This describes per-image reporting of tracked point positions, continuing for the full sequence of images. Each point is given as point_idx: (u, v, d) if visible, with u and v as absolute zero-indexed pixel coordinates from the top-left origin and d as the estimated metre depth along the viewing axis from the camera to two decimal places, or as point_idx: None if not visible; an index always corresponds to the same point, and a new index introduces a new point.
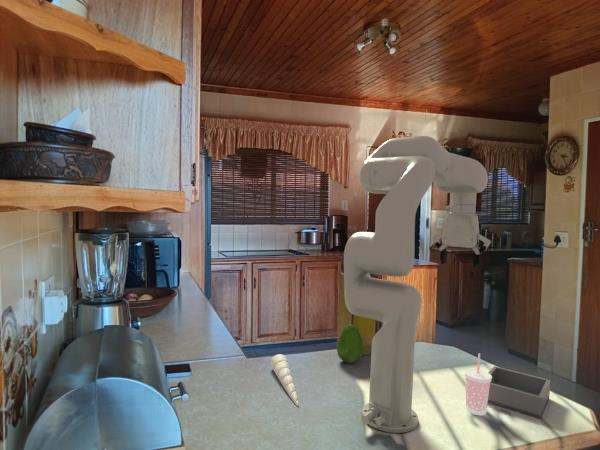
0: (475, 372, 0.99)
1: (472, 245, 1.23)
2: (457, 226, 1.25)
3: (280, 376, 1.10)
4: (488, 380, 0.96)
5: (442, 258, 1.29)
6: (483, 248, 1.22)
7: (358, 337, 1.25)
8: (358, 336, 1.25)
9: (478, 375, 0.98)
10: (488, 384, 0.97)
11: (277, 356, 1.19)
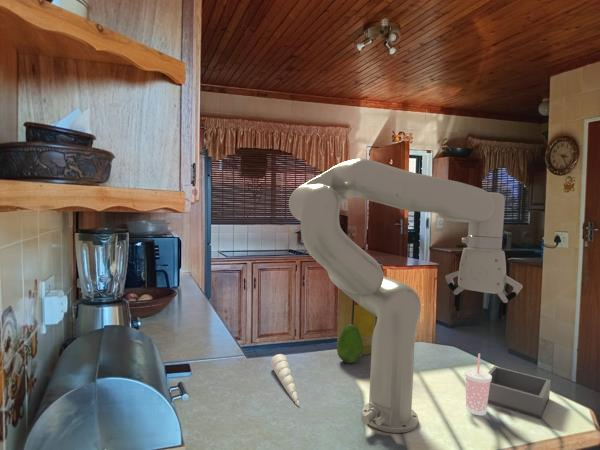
0: (475, 372, 0.99)
1: (498, 291, 0.94)
2: (479, 265, 0.97)
3: (280, 376, 1.10)
4: (488, 380, 0.96)
5: (457, 304, 1.01)
6: (512, 295, 0.94)
7: (358, 337, 1.25)
8: (358, 336, 1.25)
9: (478, 375, 0.98)
10: (488, 384, 0.97)
11: (277, 356, 1.19)
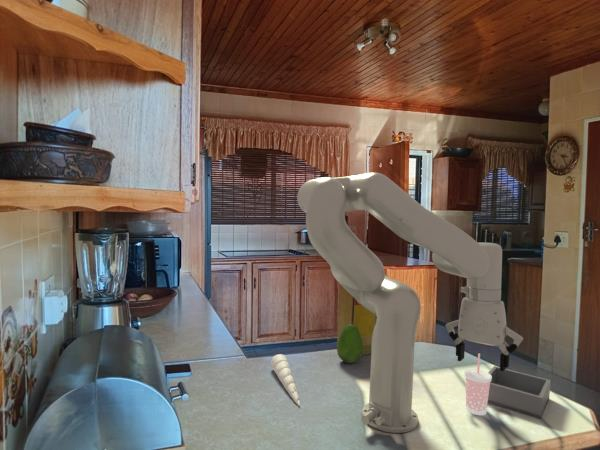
0: (475, 372, 0.99)
1: (498, 344, 0.94)
2: (478, 317, 0.96)
3: (281, 376, 1.10)
4: (488, 380, 0.96)
5: (459, 354, 1.01)
6: (513, 347, 0.94)
7: (358, 337, 1.25)
8: (358, 336, 1.25)
9: (478, 375, 0.98)
10: (488, 384, 0.97)
11: (277, 356, 1.19)
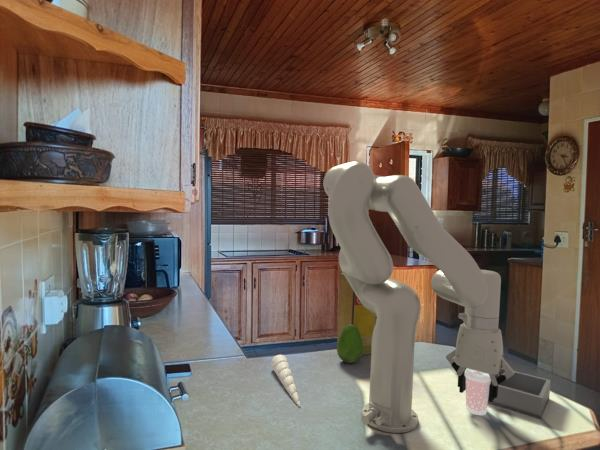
0: (475, 372, 0.99)
1: (495, 372, 0.94)
2: (475, 344, 0.97)
3: (281, 377, 1.10)
4: (488, 380, 0.96)
5: (461, 386, 1.00)
6: (502, 378, 0.95)
7: (358, 337, 1.25)
8: (358, 336, 1.25)
9: (478, 375, 0.98)
10: (488, 384, 0.97)
11: (278, 356, 1.18)
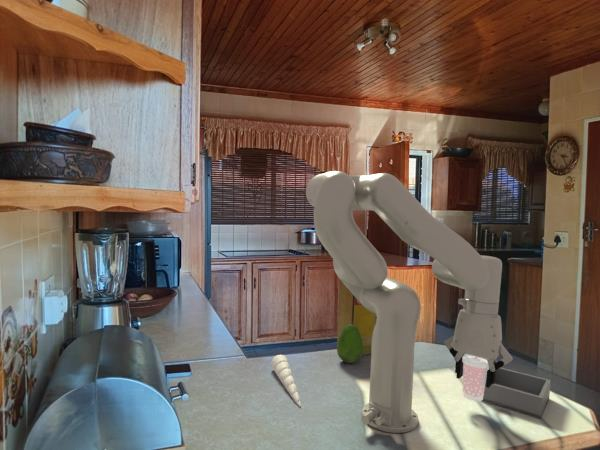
0: (473, 358, 0.99)
1: (493, 357, 0.94)
2: (474, 329, 0.96)
3: (281, 377, 1.10)
4: (486, 366, 0.96)
5: (458, 371, 1.00)
6: (500, 364, 0.94)
7: (358, 337, 1.25)
8: (358, 336, 1.25)
9: (476, 361, 0.98)
10: (486, 370, 0.96)
11: (278, 357, 1.18)
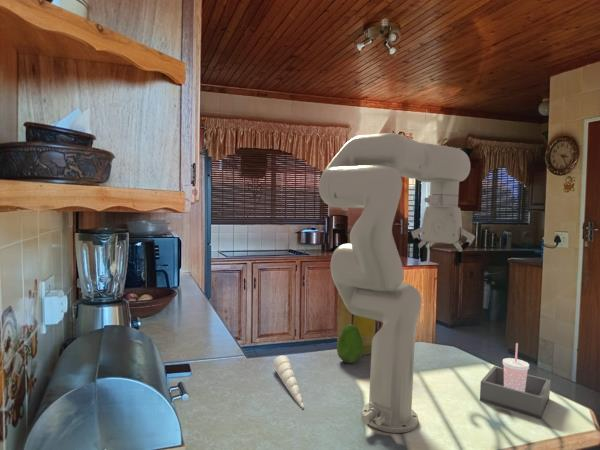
0: (513, 360, 1.06)
1: (454, 241, 1.09)
2: (438, 220, 1.12)
3: (284, 378, 1.09)
4: (526, 368, 1.02)
5: (421, 255, 1.16)
6: (466, 244, 1.09)
7: (358, 337, 1.25)
8: (358, 336, 1.25)
9: (516, 363, 1.04)
10: (526, 372, 1.03)
11: (280, 357, 1.17)
